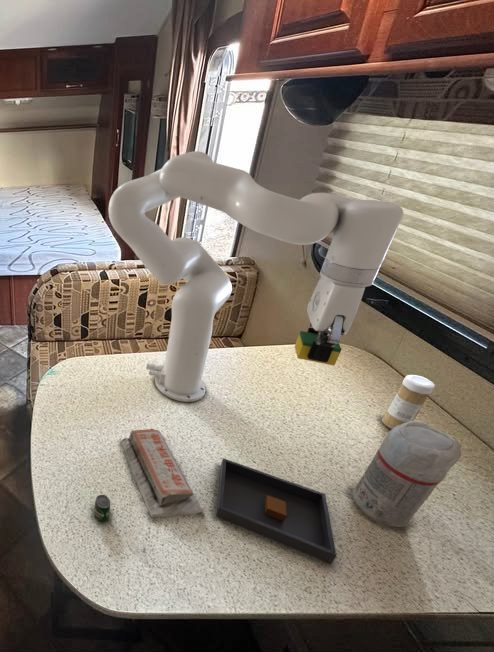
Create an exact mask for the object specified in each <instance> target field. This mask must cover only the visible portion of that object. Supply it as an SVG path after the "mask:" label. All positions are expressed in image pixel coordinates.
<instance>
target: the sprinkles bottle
mask: <svg viewBox="0 0 494 652" xmlns="http://www.w3.org/2000/svg"><path fill="white" fill-rule="evenodd" d="M435 387H436V385H435V384H434V382H433V381H431V380H430V379H428V378H426V377H424V376H421V375H418V374H417V375H416V374H407V375H406V376H405V377H404V379H403V380H402V384H401V386H400V388H399V390H398V392H397V393H396V395H395V397H394V398H393V399H392V402H391V404H390V406H389V407H388V409H387V412H386V413H385V415H384V417H382V419H381V420H382V424H384V425H385V426H386V427H388V428H389V429H391V430H392V429H393V428H394V427H396V426H398V425H401V424H403V423H407V422H409V421H415V419H416V418H417V416H418V415H419V413H420V411H421V408H422V407H423V405H424V404H425V402H426V401H427V399H428V397H429V396H430V395H431V394H432V393H433V392H434V390H435Z"/></svg>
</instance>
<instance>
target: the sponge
mask: <svg viewBox="0 0 494 652" xmlns="http://www.w3.org/2000/svg"><path fill="white" fill-rule="evenodd" d="M317 335H318V334H315V333H309V332H307V331H304V330H300V332H299V334H298V336H297V339H296V342H295V344H294V350H295V353H296V358H297V359H300V360H304V361H308V362H314V363H319V364H323V365H324V364H325V365H329V366H334V367H335V365H336V363H337V361H338V359H339V356H340V354H341V352H342V347H341V344H340V342H339V343H338V344H336V345H335V347H334V348H333V350H332V353H331V355H330V357H329V360H328V362H321V361H316V360H311V359H308V357H307V356H308V353H309V351H310V348H311V346H312V343H313V341H316V339H317ZM325 336H326V335H323V337H325ZM328 336H329V335H327V337H328Z"/></svg>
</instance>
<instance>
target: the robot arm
mask: <svg viewBox="0 0 494 652" xmlns="http://www.w3.org/2000/svg"><path fill="white" fill-rule="evenodd" d="M110 196H111V197H110V199H109V202H108V209H107V210H108V218H109V222H110V224H111V226H112V228H113V229H114V231H115V232H116V233H117V235H118V236H119V237H120V238H121V239H122V240H123V241H124V242H125V243H126V244H127V245H128V246H129V248H130V249H131V250H132V251H133V253H134V254H135V256H137V258H138V259H139V260H140V262H141V263H142V264H143V265H144V266H145V268H146V269H147V270H148V272H149V273H150V274H151V275H152V276H153V277H154V278H155V279H156V280H157V281H158V282H159V283H160V284H163V285H174V284H175V283H178V282H179V281H181V280H183V281H184V282H185V283H184V284H183V285H181V286H180V288H178V289H177V291H176V292H175V294H174V296H173V298H172V301H171V321H170V329H169V334H168V340H167V347H166V352H165V358H164V362H163V364H155V363H151V362H147V363H146V367H145V369H146V370H149V371H148V375H149V376H153V377H155V379H154V384H155V387H157V390H159V391H160V392H161V393H162V394H163V395H164V396H166V397H168V398H170V399H172V400H175V401H178V402H184V403H189V402H197V401H199V400H201V399H202V398H203V397H204V396H205V392H206V385H205V383H204V381H203V380H202V378H203V374H204V370H205V365H206V361H207V357H208V353H209V349H210V344H211V341H212V335H213V329H214V328H213V327H214V319H215V317H216V316H215V315H216V314H217V312H218V311H219V309H220V308H222V306H223V305H224V304H225V303H226V302H227V301H228V300H229V298H230V297H231V294H232V292H233V286H232V282H231V280H230V277H229V276H228V274H227V273H226V272H225V271H224V269H223V268H222V267H221V266H220V265H219V264H218V263H217V261H215V259H214V258H213V257H212V256H211V255H210V254H209V252H208V251H207V250H206V249H205V248H204V247H203V246H202V245H201V244H200V243H199V242H198V241H197V240H194V239H192V238H190V237H186V236H185V237H184V236H182V237H176V238H174V239H172V238H170V237H169V236H168V235H167V234H166V233H165V231H164V230H163V229H162V227H161V226H160V225H159V224H157V223H156V222H155V221H153V220H152V219H150V218H149V217H147V215H146V213H147V212H149V211H152V210H154V209H157V208H159V207H160V206H163V205H165V204H167V203H170V202H172V201H173V200H176V199H178V198H181V199H185V200H187V201H191V202H194V203H196V204H199V205H202V206H206V207H208V208H210V209H215V210H217V211H220V212H222V213H224V214H226V215H227V216H228V217H230V218H231V219H232V220H234V221H236V222H238V224H241V225H242V226H243V227H245V228H247V229H249V230H252V231H253V232H256V233H259V234H261V235H264V236H267V237H270V238H272V239H274V240H278V241H282V242H285V243H288V244H292V245H298V246H308V245H314V244H316V243H318V242H320V241H323V240H324V239H325V238H327V237H328V236H329V235H331V236H332V240H331V242H330V244H329V248H328V250H327V253H326V256H325V258H324V260H323V263H322V265H321V269H320V272H319V275H320V278H319V280H318V282H317V283H316V285H315V288H314V290H313V292H312V295H311V296H310V299H309V301H308V304H307V306H306V312H307V316H308V320H309V322H310V323H309V327H307V331H306V332H309V333H315V334H318V335H317V339H316V341H313V343H312V346H311V348H310V351H309V353H308V356H307V357H308V359H311V360H316V361H321V362H328V360H329V357H330V355H331V353H332V350H333V348H334V347H335V345H336V344H338V343H339V344H340V342H341V336H345V335H347V334H348V332H349V330H351V326H352V325H353V322H354V320H355V318H356V315H357V312H358V310H359V307H360V304H361V301H362V299H363V295H364V294H365V293H364V292H365V290H366V287H371V286H372V285H373V284H374V282H375V279H376V277H377V274H378V272H379V270H380V269H381V266H382V264H383V261H384V259H385V257H386V254H387V253H388V250H389V248H390V246H391V244H392V242H393V239H394V238H395V235H396V232H397V230H398V228H399V226H400V224H401V222H402V220H403V217H404V209H403V208H402V207H401V206H400V205H399V204H396V203H394V202H389V201H384V200H377V199H356V198H350V197H346V196H342V195H339V194H338V195H337V194H333V193H329V192H314V193H309V194H307V195H305V196H303V197H301V198H300V199H298V198H294V197H290V196H287V195H284V194H280V193H278V192H276V191H275V192H274V191H272V190H269V189H268V188H266V187H263V186H261V185H260V184H259V183H257V181H255V179H254V178H253V176H252V175H251V173H249V172H248V171H246V170H243V169H240V168H236V167H232V166H228V165H225V164H222V163H218V162H214V160H213V159H212V157H211V156H210V155H208V154H207V153H205V152H202V151H199V150H198V151H197V150H196V151H195V150H194V151H189V152H188V151H187V152H185V153H182V154H177V155H175V156H173V157H171V158H169V159H168V160H167V161H166V162H164V165H163V166H162V167H161V168H159V169H158V170H155V171H154V172H152V173H150V174H148V175H145V176H141V177H138V178H135V179H132V180H128V181H126V182H124V183H122V184H121V185H120V186H118V187H117V188H116V189H115V190H114V191H113V193H112V195H110ZM323 335H326V336H325V337H323ZM327 336H328V337H327Z"/></svg>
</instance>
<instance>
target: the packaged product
mask: <svg viewBox="0 0 494 652" xmlns="http://www.w3.org/2000/svg"><path fill="white" fill-rule="evenodd" d="M121 445H122V447H123V450H124V452H125V456H126V458H127V461H128V464H129V467H130V469H131V473H132V476H133V478H134V480H135V483H136V485H137V487H138V490H139V492H140V495H141V496H142V499H143V502H144V503H145V505H146V509H147V511H148V513H149V515H150V517H151V518H163V517H165V518H166V517H176V516H177V517H178V516H187V515H196V514H202V512H203V508H202V507H201V505H200V503H199V501H198V499H197V497H196V495H195V493H194V492H193V489H192V488H191V486H190V484H189V483H188V480H187V478H186V477H185V475H184V473H183V471H182V469H181V467H180V466H179V465H178V462H177V460H176V458H175V457H174V455H173V452H172V451H171V449H170V447H169V445H168V443H167V441H166V439H165V438H164V435H163V434H162V432H160V431H159V429H155V428H150V429H149V428H147V429H136V430H135V429H134V430H133V429H132V430H131V431H130V433H129V437H128V438H127V437H124V438H123V439H122V440H121Z"/></svg>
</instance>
